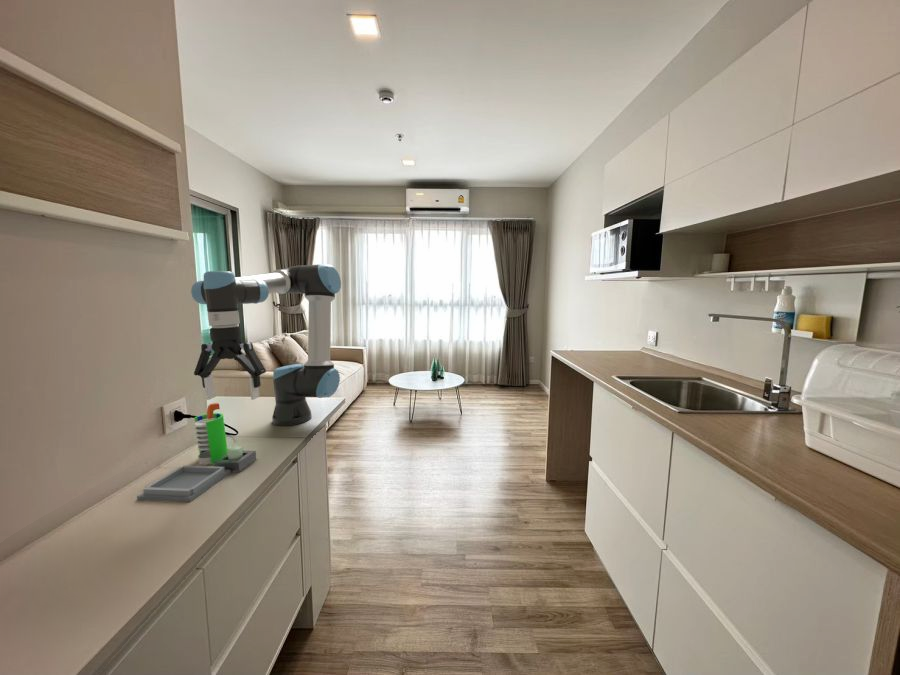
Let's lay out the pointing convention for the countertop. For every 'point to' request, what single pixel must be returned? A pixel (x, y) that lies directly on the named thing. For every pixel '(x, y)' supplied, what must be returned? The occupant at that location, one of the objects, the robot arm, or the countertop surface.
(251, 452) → the dark grey square holder
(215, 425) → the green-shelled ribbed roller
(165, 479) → the grey square tray
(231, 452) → the button
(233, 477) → the countertop surface
